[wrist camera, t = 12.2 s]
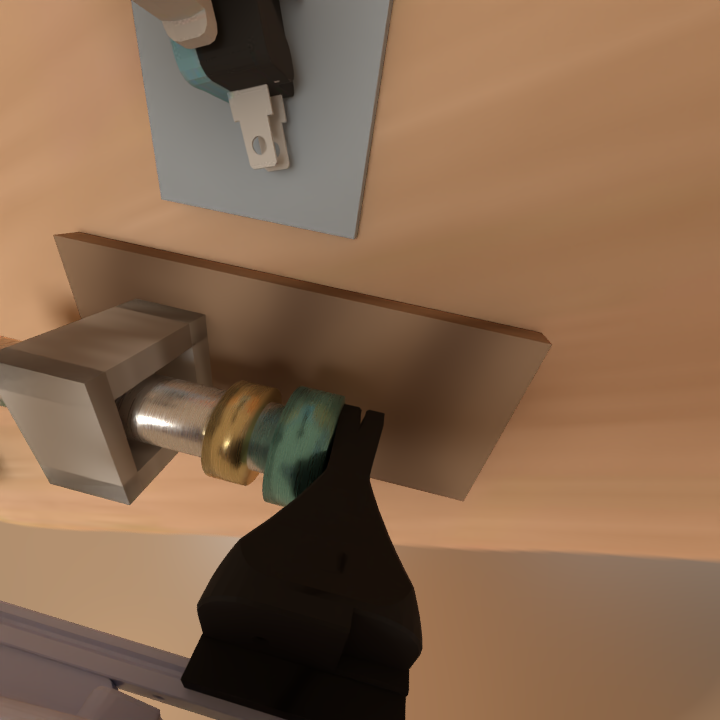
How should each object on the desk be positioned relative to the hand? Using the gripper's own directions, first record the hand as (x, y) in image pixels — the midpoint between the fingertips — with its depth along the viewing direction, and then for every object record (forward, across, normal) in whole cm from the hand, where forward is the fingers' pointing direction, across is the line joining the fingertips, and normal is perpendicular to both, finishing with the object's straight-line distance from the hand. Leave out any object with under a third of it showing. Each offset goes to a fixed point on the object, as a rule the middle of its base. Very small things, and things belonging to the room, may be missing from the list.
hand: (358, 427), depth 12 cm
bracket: (+2, +4, 0) cm, 4 cm away
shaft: (0, +8, 0) cm, 8 cm away
